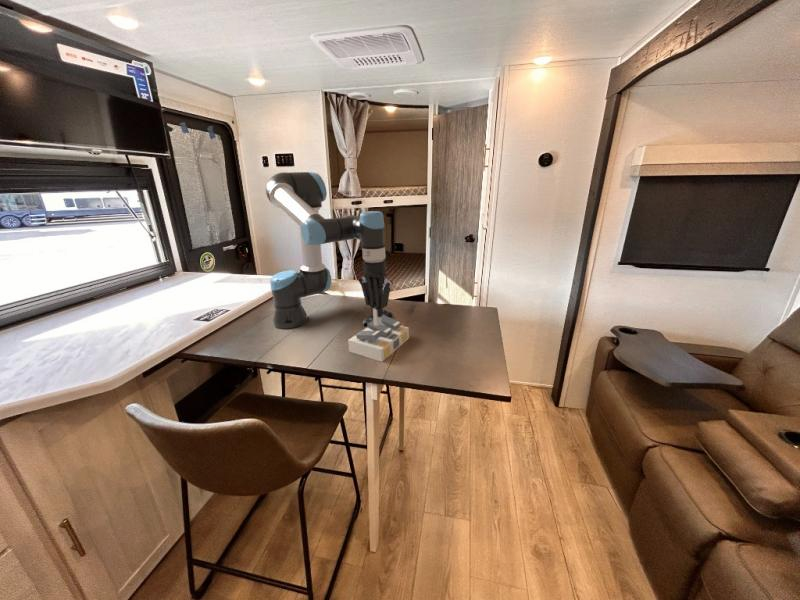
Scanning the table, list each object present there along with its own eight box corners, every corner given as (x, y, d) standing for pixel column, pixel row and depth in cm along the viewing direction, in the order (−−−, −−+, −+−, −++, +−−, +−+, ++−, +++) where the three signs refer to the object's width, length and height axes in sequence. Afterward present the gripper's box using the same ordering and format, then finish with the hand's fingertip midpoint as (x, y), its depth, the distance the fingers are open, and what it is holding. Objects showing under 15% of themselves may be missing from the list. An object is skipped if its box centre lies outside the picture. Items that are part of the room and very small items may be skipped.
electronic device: (376, 317, 152) (358, 325, 139) (378, 307, 150) (360, 314, 137) (392, 323, 148) (375, 332, 135) (394, 312, 146) (377, 320, 133)
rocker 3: (376, 321, 126) (377, 317, 125) (382, 317, 129) (382, 313, 128) (395, 330, 123) (395, 326, 122) (400, 326, 126) (400, 322, 125)
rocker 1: (357, 339, 116) (355, 334, 116) (363, 334, 120) (362, 330, 119) (376, 339, 112) (374, 335, 111) (382, 335, 115) (381, 330, 114)
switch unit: (349, 351, 119) (347, 337, 117) (378, 330, 135) (378, 317, 132) (382, 362, 111) (381, 346, 109) (409, 338, 127) (409, 324, 125)
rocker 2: (367, 327, 121) (367, 323, 120) (372, 323, 124) (373, 319, 123) (386, 337, 117) (386, 333, 117) (391, 332, 121) (392, 328, 120)
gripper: (351, 260, 103) (356, 324, 112) (384, 264, 97) (387, 332, 105) (365, 255, 109) (369, 316, 118) (396, 259, 103) (398, 323, 111)
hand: (377, 324), depth 111 cm, fingers closed
